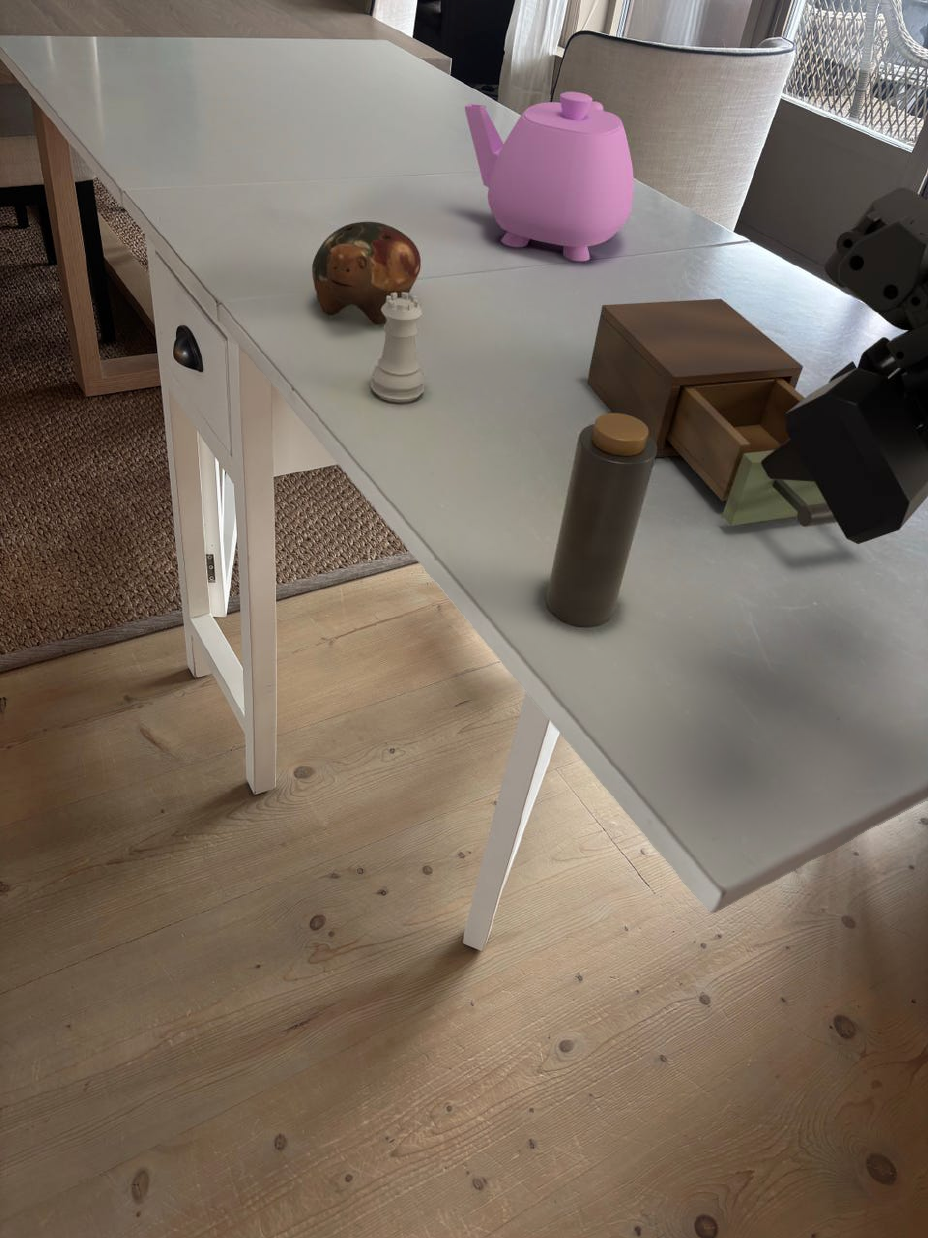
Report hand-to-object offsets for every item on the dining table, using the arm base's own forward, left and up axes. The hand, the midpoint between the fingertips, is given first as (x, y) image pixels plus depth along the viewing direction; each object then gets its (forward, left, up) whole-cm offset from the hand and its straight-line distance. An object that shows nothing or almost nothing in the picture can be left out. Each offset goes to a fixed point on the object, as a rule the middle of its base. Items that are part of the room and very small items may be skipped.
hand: (767, 467), depth 49 cm
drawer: (+9, -17, -12) cm, 23 cm away
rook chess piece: (+36, 0, -13) cm, 38 cm away
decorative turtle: (+51, -6, -13) cm, 53 cm away
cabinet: (+22, -20, -13) cm, 33 cm away
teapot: (+61, -36, -13) cm, 72 cm away
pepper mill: (+7, +4, -13) cm, 16 cm away
